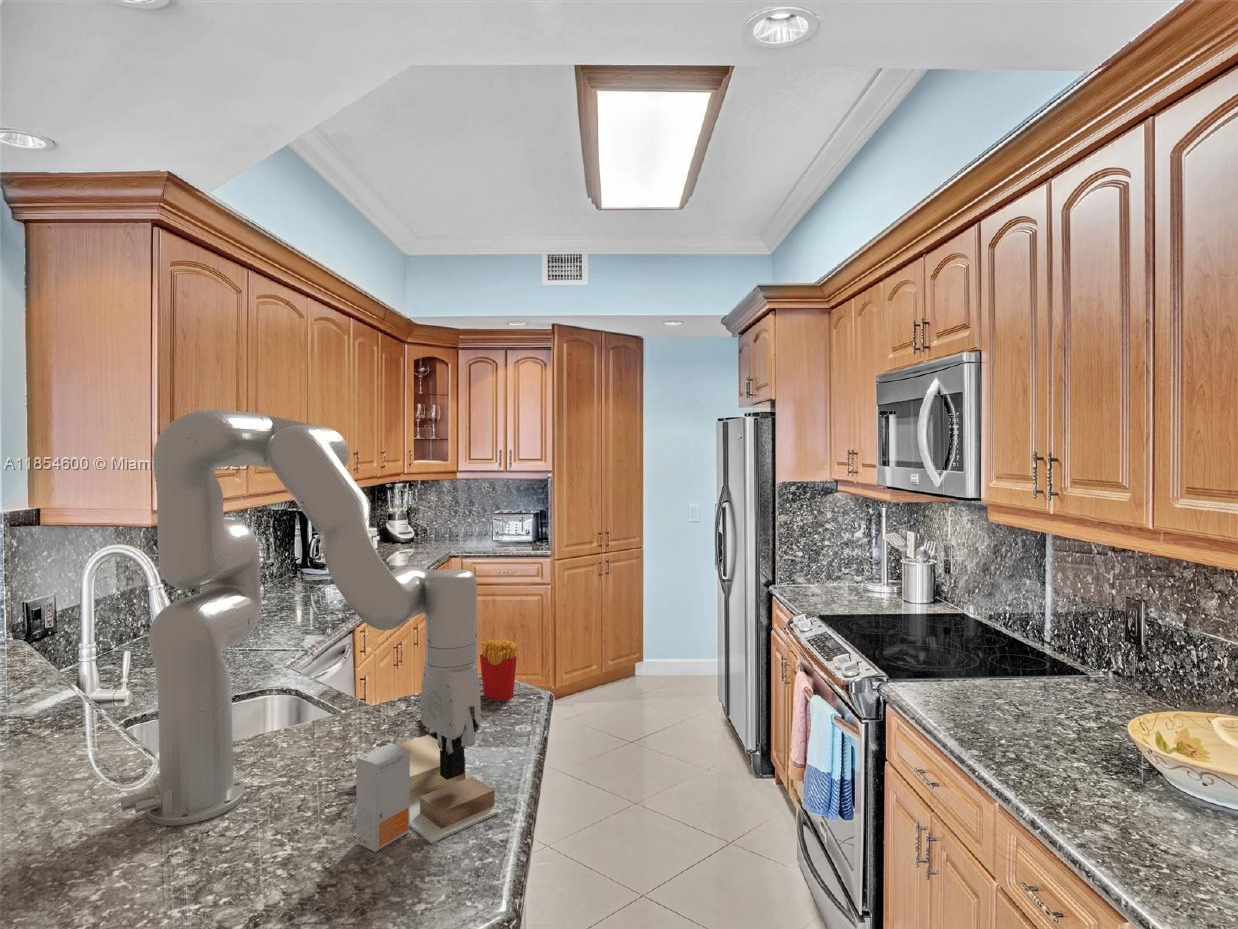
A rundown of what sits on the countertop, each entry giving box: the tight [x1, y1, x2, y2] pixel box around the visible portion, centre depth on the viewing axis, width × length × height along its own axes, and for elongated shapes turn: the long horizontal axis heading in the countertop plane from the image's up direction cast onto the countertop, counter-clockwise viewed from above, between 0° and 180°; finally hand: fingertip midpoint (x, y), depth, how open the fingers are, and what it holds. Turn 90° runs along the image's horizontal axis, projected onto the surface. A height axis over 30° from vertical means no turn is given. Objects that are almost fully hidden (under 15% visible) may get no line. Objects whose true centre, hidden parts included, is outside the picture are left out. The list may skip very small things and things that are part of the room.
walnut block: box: [420, 776, 496, 829], centre depth 104 cm, size 9×6×2 cm, turn 135°
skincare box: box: [355, 742, 410, 853], centre depth 97 cm, size 6×4×12 cm
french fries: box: [479, 638, 518, 701], centre depth 152 cm, size 8×4×12 cm, turn 70°
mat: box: [409, 783, 499, 844], centre depth 104 cm, size 11×12×1 cm
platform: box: [397, 734, 467, 800], centre depth 114 cm, size 12×12×4 cm
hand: (452, 775), depth 105 cm, fingers closed
